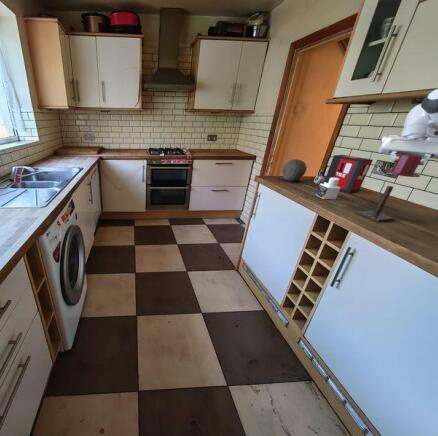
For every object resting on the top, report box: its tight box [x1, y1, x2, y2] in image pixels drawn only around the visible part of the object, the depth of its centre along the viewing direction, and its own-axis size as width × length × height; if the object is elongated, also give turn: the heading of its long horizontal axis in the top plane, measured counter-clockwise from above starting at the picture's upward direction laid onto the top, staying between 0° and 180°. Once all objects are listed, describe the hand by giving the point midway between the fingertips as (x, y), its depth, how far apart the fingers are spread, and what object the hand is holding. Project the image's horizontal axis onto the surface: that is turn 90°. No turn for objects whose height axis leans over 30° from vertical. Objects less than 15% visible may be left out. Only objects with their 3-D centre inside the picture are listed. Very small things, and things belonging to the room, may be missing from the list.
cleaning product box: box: [322, 154, 373, 194], centre depth 144 cm, size 16×9×20 cm, turn 22°
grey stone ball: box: [281, 158, 308, 183], centre depth 158 cm, size 14×14×15 cm
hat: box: [384, 154, 423, 178], centre depth 97 cm, size 10×10×8 cm
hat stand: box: [357, 185, 395, 223], centre depth 104 cm, size 9×9×15 cm
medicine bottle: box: [315, 176, 340, 200], centre depth 129 cm, size 7×7×12 cm
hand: (407, 162), depth 96 cm, fingers closed on hat, 6 cm apart
